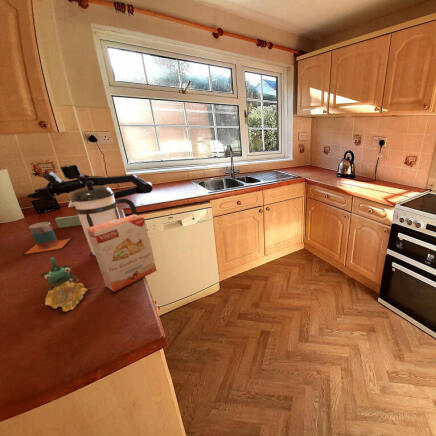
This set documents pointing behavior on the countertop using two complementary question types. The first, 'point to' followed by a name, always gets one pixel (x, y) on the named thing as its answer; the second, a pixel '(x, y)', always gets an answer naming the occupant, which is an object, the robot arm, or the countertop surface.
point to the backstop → (68, 221)
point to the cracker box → (122, 251)
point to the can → (43, 235)
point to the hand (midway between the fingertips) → (31, 193)
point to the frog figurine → (63, 288)
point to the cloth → (36, 249)
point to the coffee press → (96, 206)
